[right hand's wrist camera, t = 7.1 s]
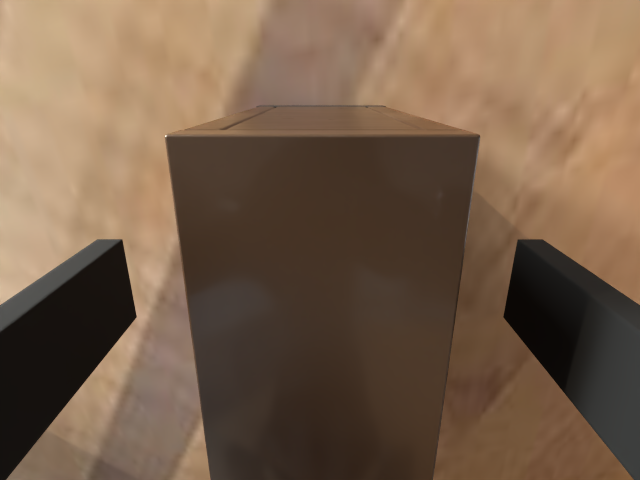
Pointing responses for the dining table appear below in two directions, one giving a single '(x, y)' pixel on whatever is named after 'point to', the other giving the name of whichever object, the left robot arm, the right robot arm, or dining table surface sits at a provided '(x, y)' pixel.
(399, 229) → the cabinet
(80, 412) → the dining table surface
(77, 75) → the dining table surface
